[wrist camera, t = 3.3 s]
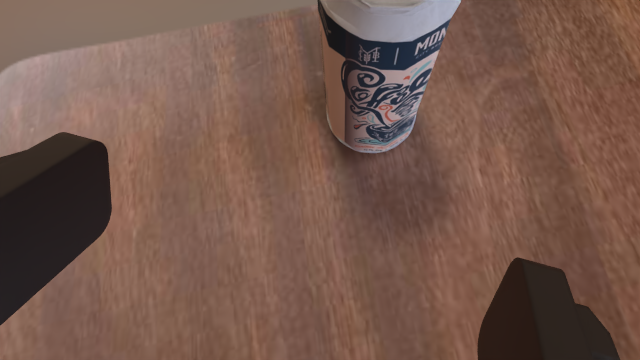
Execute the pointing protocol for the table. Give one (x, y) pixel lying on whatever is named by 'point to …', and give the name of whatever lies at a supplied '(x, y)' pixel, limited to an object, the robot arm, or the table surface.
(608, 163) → the table surface
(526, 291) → the robot arm
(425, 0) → the beer can
